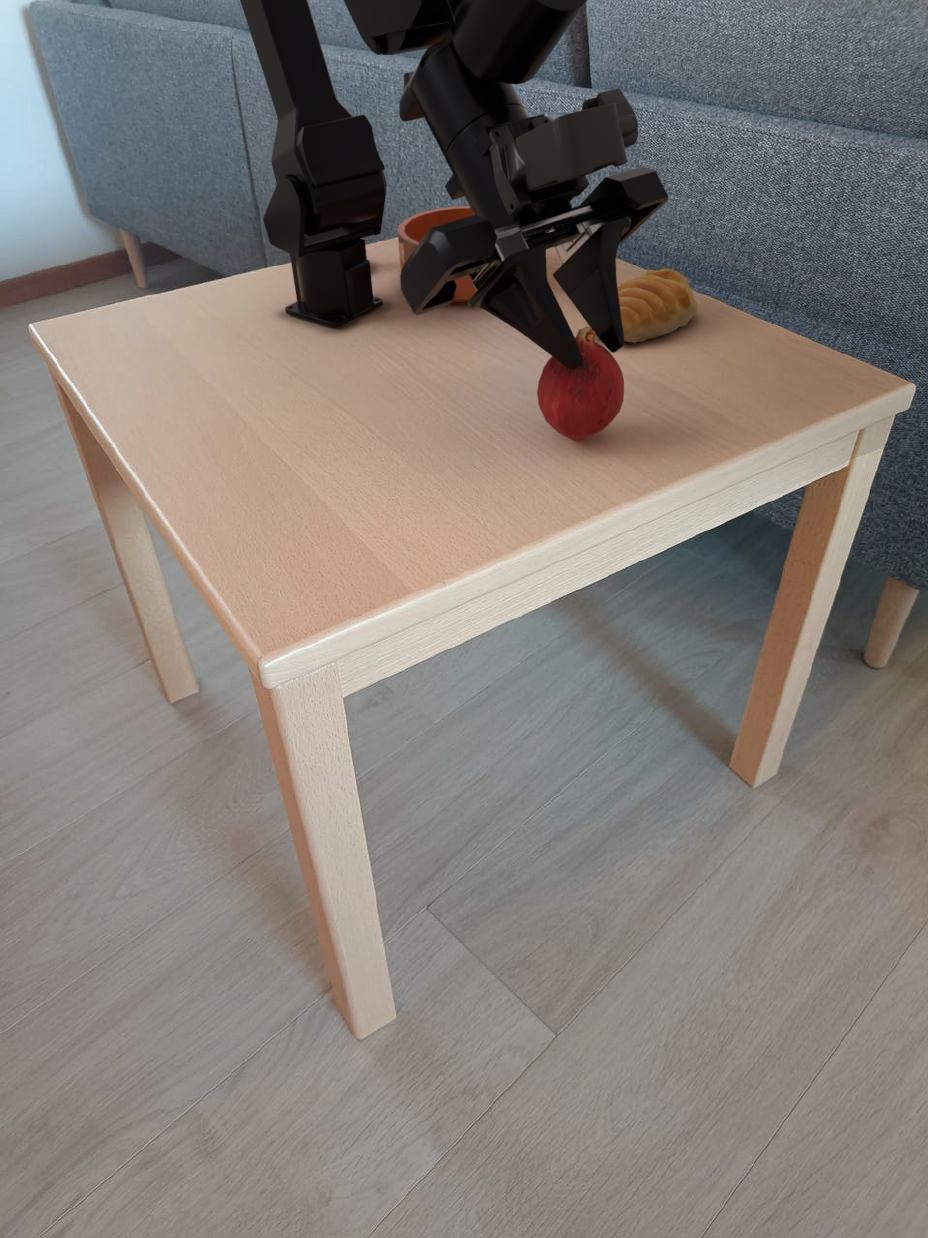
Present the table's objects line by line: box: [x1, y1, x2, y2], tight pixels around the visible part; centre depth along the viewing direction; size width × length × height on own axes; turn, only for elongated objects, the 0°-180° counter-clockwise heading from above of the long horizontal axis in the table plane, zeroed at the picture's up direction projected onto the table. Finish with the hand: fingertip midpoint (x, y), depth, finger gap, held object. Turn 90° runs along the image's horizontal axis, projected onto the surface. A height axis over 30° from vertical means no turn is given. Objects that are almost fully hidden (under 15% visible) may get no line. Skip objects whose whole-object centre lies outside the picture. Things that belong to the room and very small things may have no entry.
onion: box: [536, 325, 625, 442], centre depth 60 cm, size 6×6×8 cm
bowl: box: [397, 205, 476, 303], centre depth 83 cm, size 12×12×5 cm
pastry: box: [617, 268, 699, 344], centre depth 75 cm, size 9×7×4 cm
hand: (598, 357), depth 57 cm, fingers closed on onion, 3 cm apart
